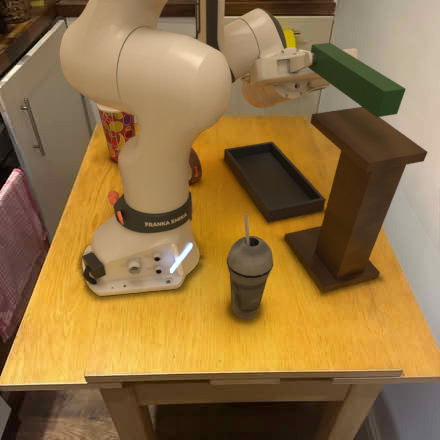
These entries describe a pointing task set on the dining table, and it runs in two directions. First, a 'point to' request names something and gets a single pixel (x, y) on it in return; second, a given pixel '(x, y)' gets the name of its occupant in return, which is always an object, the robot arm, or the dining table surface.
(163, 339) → the dining table surface
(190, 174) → the tin
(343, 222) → the stand
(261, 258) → the beverage cup
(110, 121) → the smoothie
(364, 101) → the long green square beam
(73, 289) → the dining table surface
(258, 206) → the tray
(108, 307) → the dining table surface
